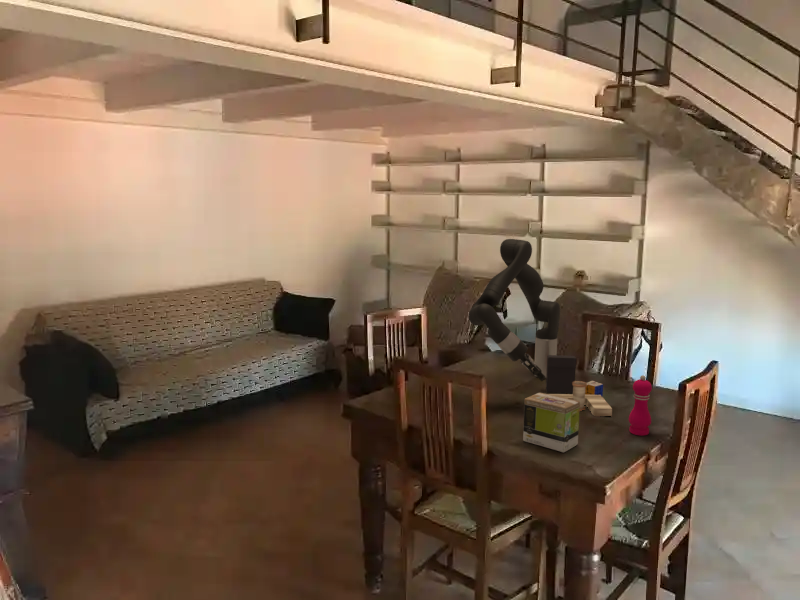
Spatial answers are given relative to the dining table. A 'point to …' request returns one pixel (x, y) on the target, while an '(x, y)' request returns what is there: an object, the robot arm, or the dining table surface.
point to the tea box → (551, 421)
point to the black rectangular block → (560, 374)
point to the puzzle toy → (594, 388)
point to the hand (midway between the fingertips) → (541, 376)
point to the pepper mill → (640, 408)
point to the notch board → (592, 404)
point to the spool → (579, 393)
